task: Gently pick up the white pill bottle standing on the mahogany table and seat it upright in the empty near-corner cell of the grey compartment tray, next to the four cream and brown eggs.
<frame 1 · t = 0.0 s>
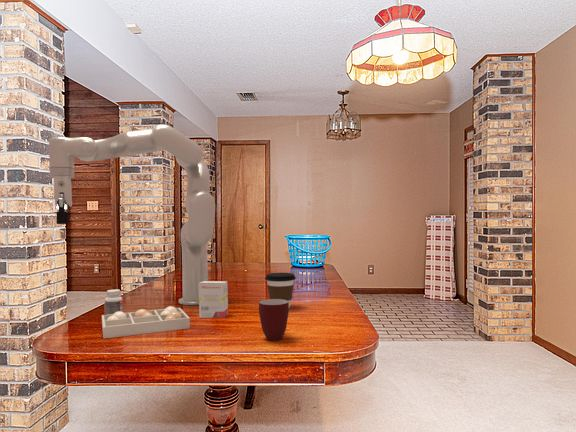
hand: (62, 223, 152), 31 cm above the table, fingers open, 9 cm apart
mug: (274, 338, 121), on the table
grey compartment tray: (145, 328, 132), on the table
egg brown a: (143, 323, 136), point 1 cm above the table, touching grey compartment tray
egg cream a: (169, 320, 139), point 1 cm above the table, touching grey compartment tray
ink box: (214, 318, 145), on the table
pill bottle: (113, 321, 143), on the table
egg brown b: (173, 326, 132), point 1 cm above the table, touching grey compartment tray
coffee cup: (280, 308, 158), on the table
egg cream b: (117, 326, 132), point 1 cm above the table, touching grey compartment tray
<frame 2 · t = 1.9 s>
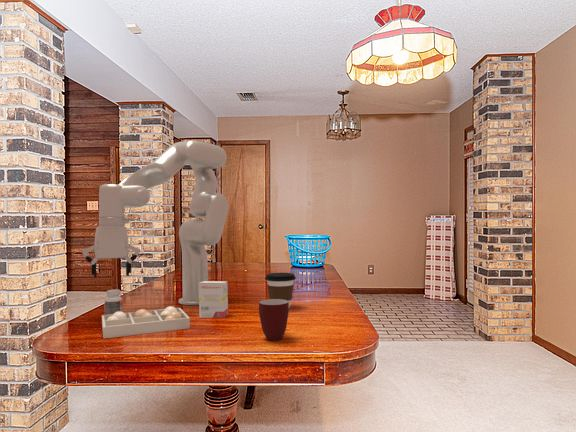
hand: (111, 276, 142), 14 cm above the table, fingers open, 9 cm apart
nothing on the table moved.
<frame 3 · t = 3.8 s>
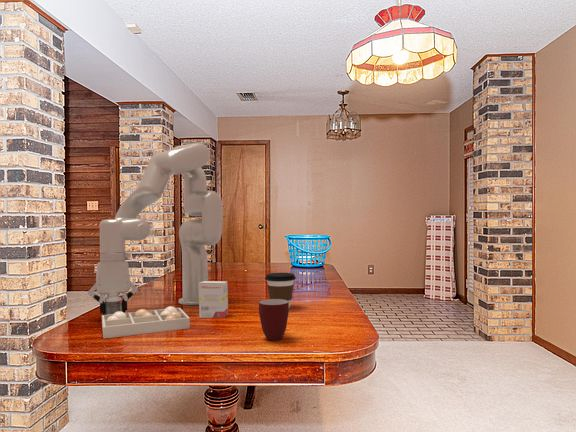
hand: (113, 313, 142), 2 cm above the table, fingers closed on pill bottle, 5 cm apart
pill bottle: (113, 321, 143), on the table, touching gripper
everything else where it was.
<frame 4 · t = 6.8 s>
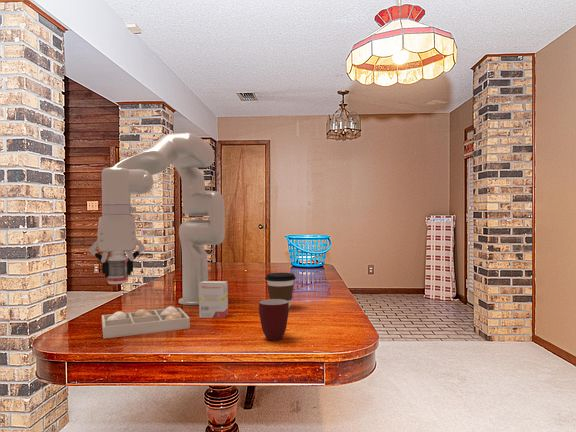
hand: (117, 274, 125), 17 cm above the table, fingers closed on pill bottle, 5 cm apart
pill bottle: (118, 283, 125), point 15 cm above the table, touching gripper
everything else where it was.
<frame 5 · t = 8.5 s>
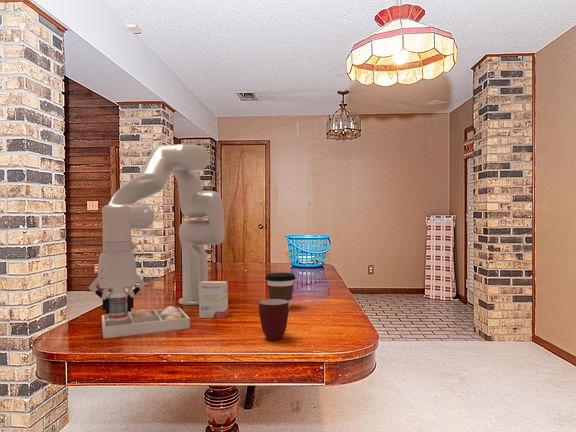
hand: (118, 311, 125), 7 cm above the table, fingers closed on pill bottle, 5 cm apart
pill bottle: (118, 320, 125), point 4 cm above the table, touching gripper
everything else where it was.
when the fingers open (4 cm above the table, at t = 9.8 s): pill bottle drops 2 cm, resting on grey compartment tray.
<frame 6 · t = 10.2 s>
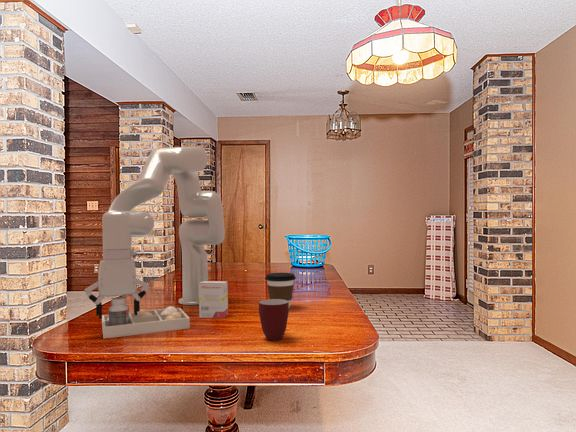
hand: (118, 315, 125), 5 cm above the table, fingers open, 9 cm apart
pill bottle: (119, 333, 126), resting on grey compartment tray
everything else where it was.
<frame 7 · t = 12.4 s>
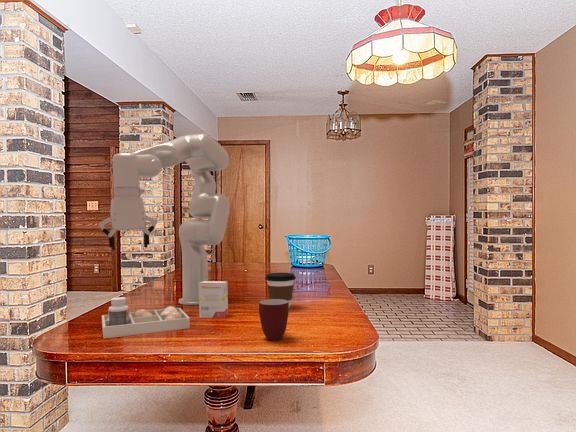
hand: (129, 248, 138), 23 cm above the table, fingers open, 9 cm apart
nothing on the table moved.
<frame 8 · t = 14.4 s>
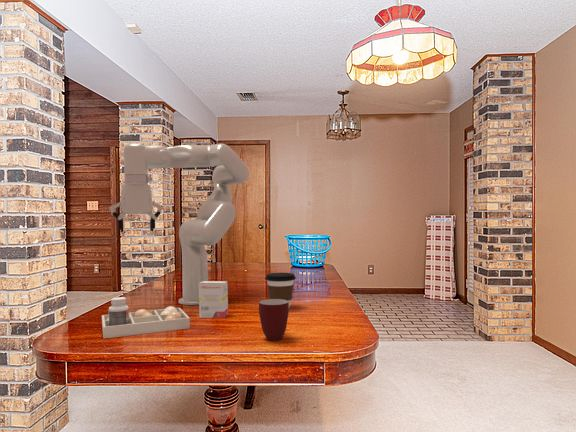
hand: (137, 231, 150), 28 cm above the table, fingers open, 9 cm apart
nothing on the table moved.
at the end: pill bottle 0.2 cm from the target spot on the grey compartment tray, point 0.4 cm above the grey compartment tray's base; pill bottle tilted 0°; the gripper is holding nothing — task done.
